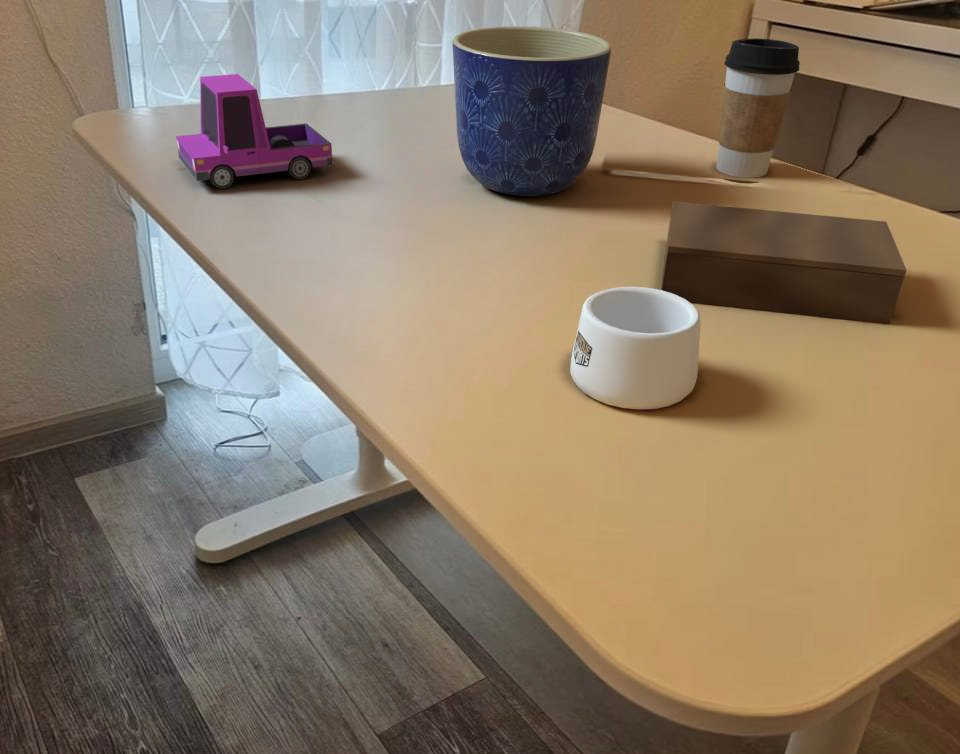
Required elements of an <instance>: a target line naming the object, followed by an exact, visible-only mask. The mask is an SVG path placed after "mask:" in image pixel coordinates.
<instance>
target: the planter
mask: <svg viewBox="0 0 960 754" xmlns="http://www.w3.org/2000/svg"><path fill="white" fill-rule="evenodd" d="M451 43H452V62H453V63H452V64H453V78H454V79H453V81H454V101H455V119H456V134H457V144H458V149H459V152H460V156H461V159H462V162H463V164H464V166H465V168H466V169H467V171H468V172H469V174H470V175H471V176H472V178H474V179H475V181H477V182H478V183H479V184H481V185H482V186H483V187H485V188H487V189H489V190H491V191H494V192H496V193H500V194H505V195H510V196H515V197H517V196H518V197H539V196H540V197H541V196H546V195H551V194H552V195H553V194H555V193H559V192H561V191H563V190H565V189H567V188H568V187H571V186H572V185H573V184H574V183H576V182H577V181H578V180H579V178H580V177H581V176H582V175H583V174H584V172H585V171H586V169H587V167H588V165H589V164H590V162H591V159H592V156H593V154H594V150H595V146H596V142H597V136H598V131H599V125H600V120H601V119H600V118H601V114H602V107H603V101H604V96H605V89H606V83H607V78H608V71H609V66H610V61H611V60H610V59H611V55H612V45H611V43H610V42H609V41H607V40H606V39H604V38H602V37H600V36H597V35H593V34H590V33H586V32H581V31H577V30H571V29H563V28H555V27H545V26H544V27H543V26H526V25H525V26H523V25H520V26H519V25H510V26H491V27H489V26H488V27H481V28H475V29H470V30H465V31H462V32H460V33H458V34H456V35H455V36H454V37H453V38H452V41H451Z"/></svg>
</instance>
